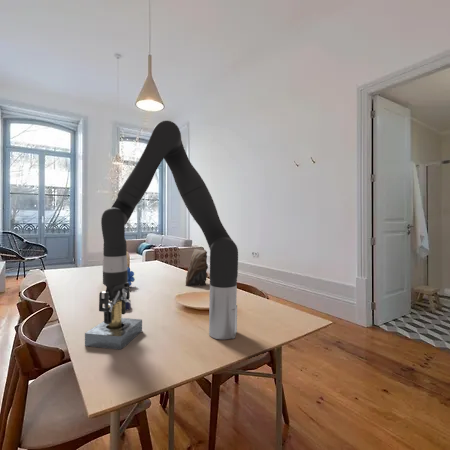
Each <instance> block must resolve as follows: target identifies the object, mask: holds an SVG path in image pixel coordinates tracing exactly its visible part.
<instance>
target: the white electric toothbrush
mask: <svg viewBox="0 0 450 450" xmlns="http://www.w3.org/2000/svg"><path fill="white" fill-rule="evenodd" d="M125 294H126V296H127V293H125ZM131 306H132V304H131V299H130V298H129V299H127V302H126V311H129V310H130V309H131V308H132V307H131Z"/></svg>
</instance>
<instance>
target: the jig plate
mask: <svg viewBox="0 0 450 450" xmlns="http://www.w3.org/2000/svg"><path fill="white" fill-rule="evenodd" d="M142 331H143V319H139V318H127V317H122V328H119V329H108V324H106V323H104V320H103V321H102V322H100V323H98V324H97V325H96V326H93V328H92V327H91V329H89V330H87V331H86V332H84V346H85V347H92V348H99V349H102V348H103V349H113V350H121V351H122V349H123V348H125V347H126V346H127V345H128V344H129V343H130V342H131V341H132V340H133V339H135V338H136V337H138V335H140V333H142Z"/></svg>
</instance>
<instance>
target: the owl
mask: <svg viewBox="0 0 450 450" xmlns="http://www.w3.org/2000/svg"><path fill="white" fill-rule="evenodd" d="M189 260H190V261H189V265H188V269H187V273H186V276H185V287H187V286H188V287H191V286H192V287H195V286H196V287H198V286H199V287H205V286H207V283H206V282H207V278H208V273H207V272H208V269H209V266H208V263H207V261H208V251H207V250H206V249H203V250H202V249H198V248H194V249H193V252H192V255H191V258H190V259H189Z"/></svg>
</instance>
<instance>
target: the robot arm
mask: <svg viewBox="0 0 450 450" xmlns="http://www.w3.org/2000/svg"><path fill="white" fill-rule="evenodd" d="M181 133H182V132H181V130H180V128H179V126H178V125H177V124H176V123H175V122H174V121H170V120H161V121H159V122H158V123H157V124H156V125H155V126H154V128H153V130H152V132H151V135H150V137H149V139H148V141H147V144H146V146H145V147H144V150H143V152H142V154H141V156H140V158H139V160H138V161H137V163H136V164H135V166H134V167H133V169H132V170H131V172H130V174H129V175H128V177H127V178H126V180H125V181H124V183H123V185H122V186H121V188H120V189H119V191H118V193H117V197H116V199H115V200H114V202H113V205H112V206H111V207H108V208H106V210H104V211H103V213H102V214H101V218H100V219H101V220H100V222H101V223H100V224H101V232H102V239H103V248H102V249H103V251H102V252H103V257H102V258H103V259H102V284H103V285H104V286H105V287H106V289H105V291H100V292H99V299H98V312H103V321H104V323H106V324H110V323H111V322H112V308H113V305H115V303H116V301H117V300H120V301H122V315H125V314H126V312H127V310H126V302H127V299H129V300H130V296H131V295H130V286H129V283H128V282H127V281H128V277H127V267H128V256H127V254H128V253H127V250H128V249H127V245H128V244H127V240H126V237H125V228H126V225H127V223H128V222H129V220H130V219H131V216H132V215H133V213H134V211H135V209H136V207H137V205H138V204H139V203H140V201H141V200H142V198H143V197H144V195H145V194H146V193H147V191H148V188H149V187H150V186H151V183H152V181H153V179H154V176H155V175H156V172H157V170H158V168H159V166H160V164H161V163H162V162H163V160H164V161H165V163H166V165H167V167H169V169H170V171H171V174H172V177H173V180H174V182H175V185H176V188H177V190H178V194H179V195H180V197H181V199H182V201H183V203H184V206H186V207H185V208H187V210H188V212H189V214H190V215H191V217H192V218H193V220H194V221H195V222H196V223H197V225H198V226H199V228H200V229H201V231H202V233H203V236H204V238H205V240H206V243H207V245H208V248H209V303H208V304H209V307H208V308H209V309H208V310H209V311H208V313H209V314H208V315H209V316H208V317H209V318H208V319H209V320H208V323H209V324H208V334H209V336H210V337H211V338H213V339H215V340H230V339H235V338H236V335H237V331H238V304H237V298H238V297H237V293H238V292H237V291H238V288H237V285H238V275H239V274H238V272H239V248H238V246H237V244H236V243H235V241H234V240H233V239H232V238H231V236H230V234H229V233H228V232H227V230H226V228H225V227H224V224H223V223H222V222H221V219H220V216H219V213H218V209H217V207H216V204H215V202H214V199H213V197H212V195H211V193H210V190H209V189H208V187H207V184H206V183H205V181H204V179H203V178H202V176H201V175H200V173H199V172H198V171H197V170H196V168H195V167H194V166H193V164H192V163H191V161H190V159H189V156H188V155H187V152H186V150H185V147H184V144H183V141H182V134H181ZM125 293H126V294H127V296H126V294H125ZM109 305H110V306H109Z"/></svg>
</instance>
